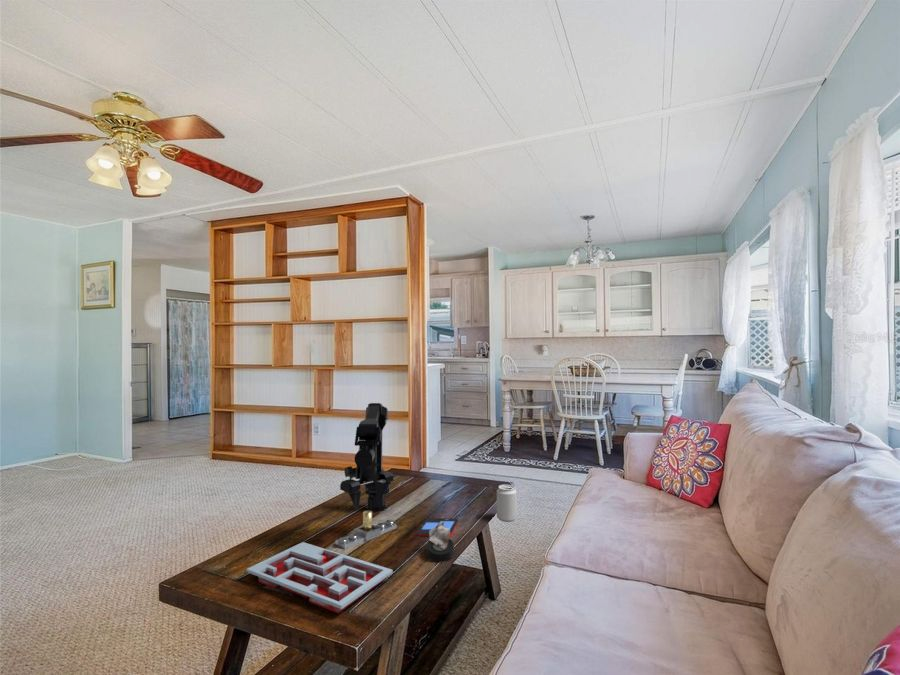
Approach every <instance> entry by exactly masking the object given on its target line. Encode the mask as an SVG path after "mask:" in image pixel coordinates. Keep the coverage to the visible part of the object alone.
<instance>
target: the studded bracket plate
mask: <svg viewBox="0 0 900 675" xmlns="http://www.w3.org/2000/svg"><path fill="white" fill-rule="evenodd" d="M397 526H398V525H397V524H396V523H395V520H393V519H387V520H385V521H383V522H379V523H377V524H375V525H374V524H372V530H370V531H368V532H365V531H363V525H362V526H359V527H356V528H354V533H351V534H349V535H346V536H345V537H339V538H338V539H336V540H335V545H336V546H338V547H339V548H342V549H344V550H346V549H349V548H351V547H354V546H355V545H359V544H360V543H364V542H368V541H370V540H373V539H375V538H379V537H380V536H381V535H383V534H385V533H388V532H391V531H393V530H395V529H396V530H397Z"/></svg>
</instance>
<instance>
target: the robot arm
mask: <svg viewBox="0 0 900 675" xmlns="http://www.w3.org/2000/svg"><path fill="white" fill-rule="evenodd" d="M364 418H365V419H363V420H361V421H359V424H358V426H356V432H355V439H354V447H355V446H356V447H357V446H358V451H357V452H356V453H355V455H354V463H355V465H356V467H354V468H353V467H352V466H351V465H350V466H345V467H344V476H345V477H346V478H349V479H345V480H341V482H340V486H339V488H340V490H341V491H343V492H344V493H346V494H348V495H349V497H350V500H351V502H352V506H353V508H354V510H355V511H356V512H357V511H358V510H359V507H360V502H361V494H362V491H361V486H365V487H364V488H365V495H368V496H367V506H365V509H367V510H370V511H372V512H375V513H378V512H380V511H383V510H386V509H388V508H389V506H388V505H386V503H387V501H386V495H388V494H390V485H391V482H394V474H393V472H390V471H387V470H385V469H384V467H383V430H384V429H385V427H386V426H387V421H389V410H388V408H387V407H386V406H384V405H383V404H382V403H381V402H370V403H368V404H367V407H366V408H365V417H364ZM353 478H355V479H356V480H355V479H353Z"/></svg>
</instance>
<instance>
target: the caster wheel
mask: <svg viewBox="0 0 900 675" xmlns="http://www.w3.org/2000/svg"><path fill="white" fill-rule="evenodd" d="M449 537H450V530H449V529H447V528H446V527H444V521H443V522H441V523H440V524H438V525H437V526H435V527H434V528H433V529H431V530H430V531H429V537H428V541H427V543H426V553H427V554H426V555H427V556H428V558H429V559H430V560H432V561H435V562H446V561H448V560H450V559H451V558H452V557H453V556H454V554H455V544H454V541H453V540H452V538H449Z"/></svg>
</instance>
